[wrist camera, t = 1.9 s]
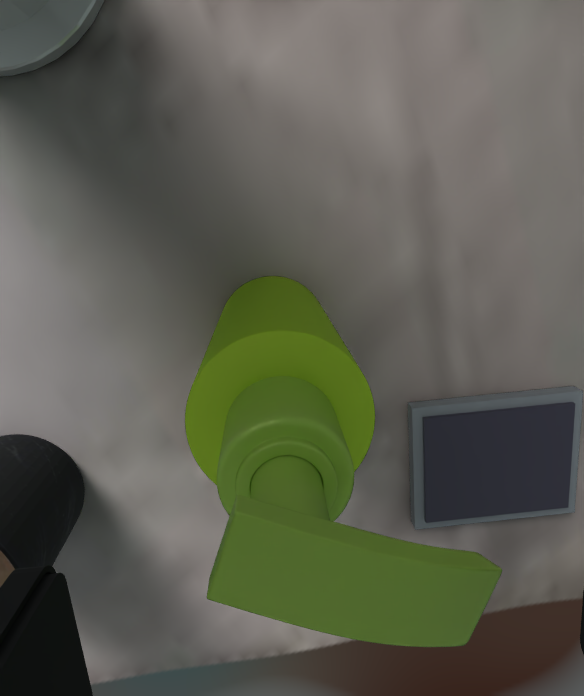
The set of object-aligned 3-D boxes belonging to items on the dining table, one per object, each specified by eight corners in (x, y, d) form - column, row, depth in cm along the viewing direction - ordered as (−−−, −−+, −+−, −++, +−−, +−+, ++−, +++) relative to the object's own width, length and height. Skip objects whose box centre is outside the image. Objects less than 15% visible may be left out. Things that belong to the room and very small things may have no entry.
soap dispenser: (323, 395, 29) (438, 745, 10) (207, 362, 29) (92, 677, 9) (357, 299, 28) (564, 493, 9) (236, 262, 27) (173, 385, 8)
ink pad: (407, 402, 30) (413, 410, 29) (573, 385, 30) (586, 392, 29) (410, 521, 32) (416, 532, 31) (566, 504, 32) (577, 515, 31)
